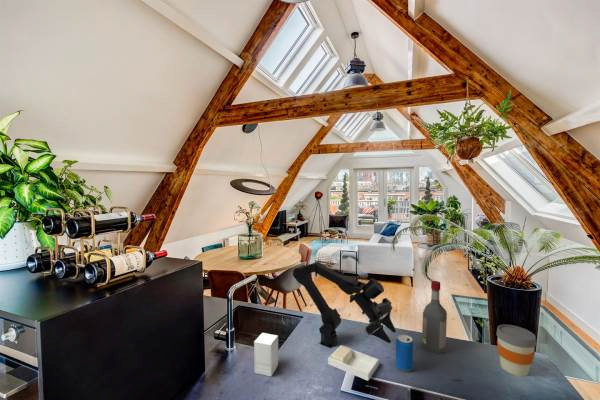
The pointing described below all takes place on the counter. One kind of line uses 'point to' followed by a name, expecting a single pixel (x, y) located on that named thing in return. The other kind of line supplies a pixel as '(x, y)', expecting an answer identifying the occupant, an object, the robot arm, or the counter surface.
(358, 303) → the robot arm
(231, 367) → the counter surface
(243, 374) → the counter surface
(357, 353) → the white rectangular tray
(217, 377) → the counter surface
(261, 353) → the supplement box
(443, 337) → the liquor
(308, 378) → the counter surface
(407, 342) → the beverage can
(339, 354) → the beige rectangular block
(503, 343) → the reusable coffee cup
